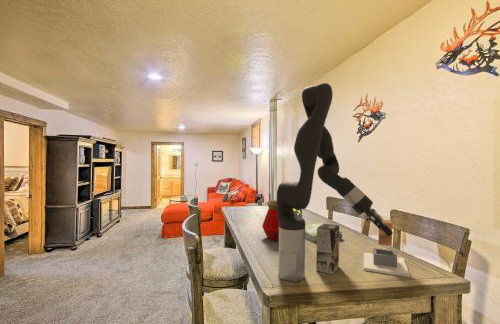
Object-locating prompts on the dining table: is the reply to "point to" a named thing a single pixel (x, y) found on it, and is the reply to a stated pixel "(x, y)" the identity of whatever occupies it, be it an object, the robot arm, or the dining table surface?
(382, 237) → the peg
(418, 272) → the dining table surface
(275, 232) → the bottle
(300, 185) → the robot arm
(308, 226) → the towel
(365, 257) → the socket stand
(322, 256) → the coffee box
